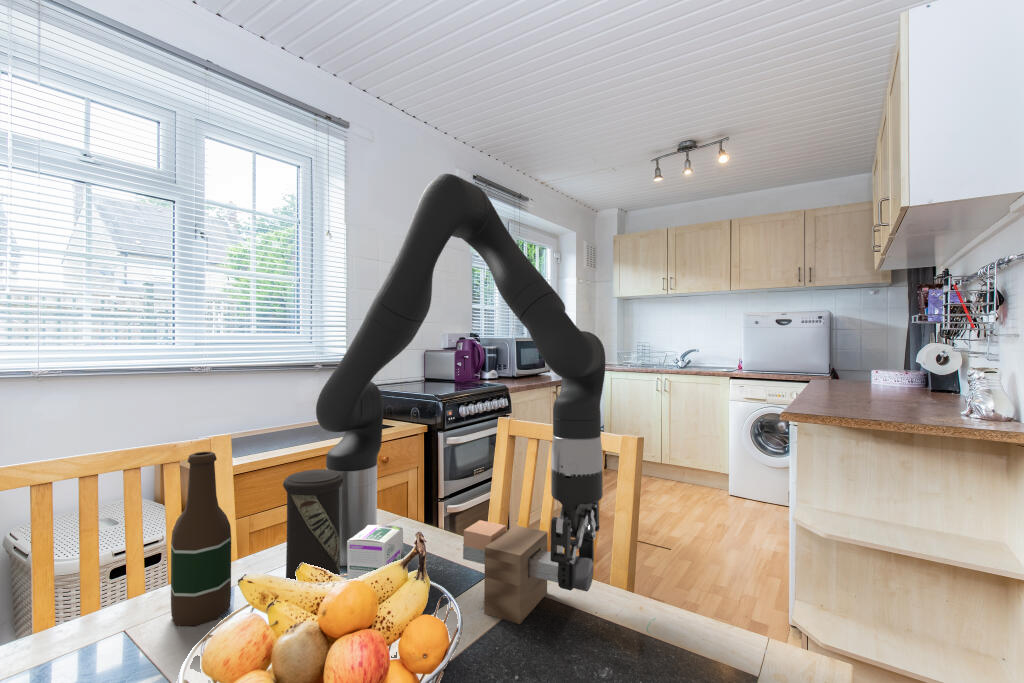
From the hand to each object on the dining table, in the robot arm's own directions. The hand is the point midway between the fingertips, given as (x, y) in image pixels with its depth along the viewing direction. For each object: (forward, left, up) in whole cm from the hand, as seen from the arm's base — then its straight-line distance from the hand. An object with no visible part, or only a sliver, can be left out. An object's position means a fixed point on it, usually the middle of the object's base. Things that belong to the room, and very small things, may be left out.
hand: (576, 575), depth 72 cm
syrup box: (-23, -17, -7) cm, 30 cm away
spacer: (-16, 0, +2) cm, 16 cm away
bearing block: (-10, 0, -7) cm, 12 cm away
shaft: (-8, 0, -2) cm, 9 cm away
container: (-39, -14, -7) cm, 42 cm away
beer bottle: (-50, -25, -7) cm, 56 cm away
